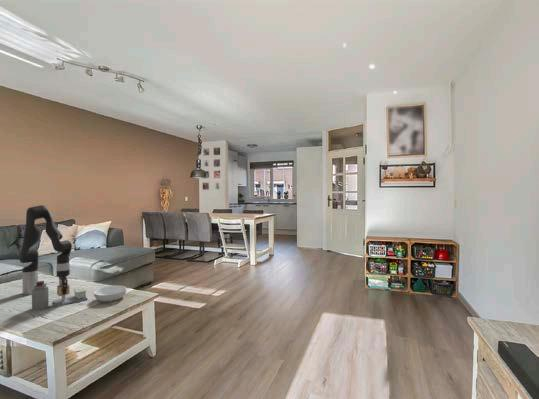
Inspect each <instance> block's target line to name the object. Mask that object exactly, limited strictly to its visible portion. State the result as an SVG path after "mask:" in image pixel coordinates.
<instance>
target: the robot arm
mask: <svg viewBox="0 0 539 399" xmlns="http://www.w3.org/2000/svg"><path fill="white" fill-rule="evenodd" d="M25 215H26V216H25V217H26V218H25V229H24V233H23V237H22V238H23V239H22V246H21V249H20V253H19V257H18V259H19V262H20V263H21V264H28V263H29V264H28V265H26V266H24V267H23V268H22V270H21V271H22V272H21V273H22V278H21V279H22V286H21V287H22V295H24V296H29V295H32V290H33V289H34V286H35V285H36V283H37V282H38V281H39V256H40V255H39V250H37V249H31V248H32V247H33V246H34V245H36V244H37V243H38V242H39V240H40V237H41V233H42V232H41V229H40V228H39V227H38V226H37V225H36V223H35V222H36V220H40V219H44V220H45V222H46V223H45V233H46V235H47V236H48V238H49V240H50V241H51V245H52V248H53V250H54V251H55V252H57V253H59V252H61V253H60V254H58V255H57V256H56V277H57V278H58V283H59V284H58V285H61V286H62V294H66V288H67V286H68V285H69V284H68V281H69V280H68V278H67V277H68V276H70V274H71V272H70V271H71V270H70V269H71V268H70V267H71V264H70V255H71V251H72V248H73V245H72V242H71V241H70V240H67V239H66V240H62V239H63V237H64V236H63V234H62V232H61V231H60V230H59V229H58V227H57V225H56V224H55V222H54V219H53V217H52V216H51V213H50V211H49V209H48V208H47V206H45V205H42V204H41V205H36V206H31V207H28V208H27V209H26V214H25ZM61 240H62V241H61ZM30 249H31V250H30ZM64 285H65V287H64Z"/></svg>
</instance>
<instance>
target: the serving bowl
mask: <svg viewBox="0 0 539 399" xmlns="http://www.w3.org/2000/svg"><path fill="white" fill-rule="evenodd" d="M127 289H128V288H127V287H126V286H124V285H108V286H104V287H100V288H97V289H96V290H94V292H93V296H94V298H95V299H96V300H97V301H100V302H113V300H114V301H116V300H119V299H121V298H123V297H124V296H125V295H126V292H127Z"/></svg>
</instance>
